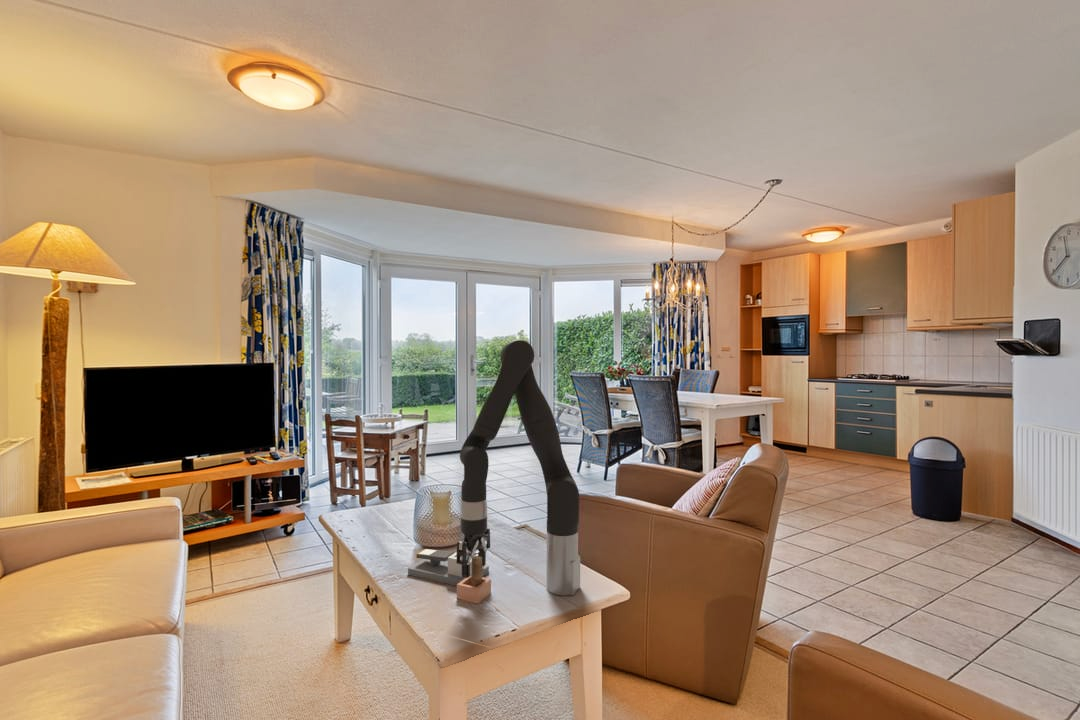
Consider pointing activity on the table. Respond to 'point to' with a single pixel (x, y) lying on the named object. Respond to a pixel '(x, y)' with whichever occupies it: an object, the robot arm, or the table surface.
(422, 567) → the grey base slab
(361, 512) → the table surface
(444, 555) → the rocker switch
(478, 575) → the brown rectangular block
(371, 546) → the table surface
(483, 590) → the holder
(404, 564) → the table surface
